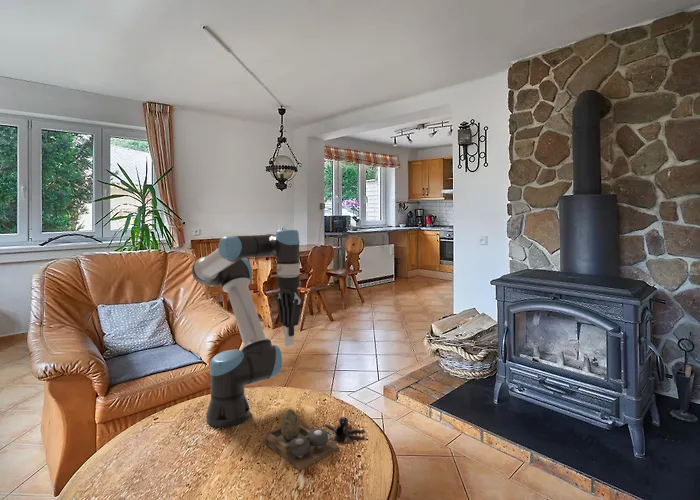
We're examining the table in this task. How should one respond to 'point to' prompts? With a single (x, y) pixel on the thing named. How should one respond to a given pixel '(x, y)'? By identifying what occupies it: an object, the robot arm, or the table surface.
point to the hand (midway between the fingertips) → (289, 344)
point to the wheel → (318, 437)
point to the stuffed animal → (344, 432)
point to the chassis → (298, 447)
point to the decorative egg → (290, 425)
